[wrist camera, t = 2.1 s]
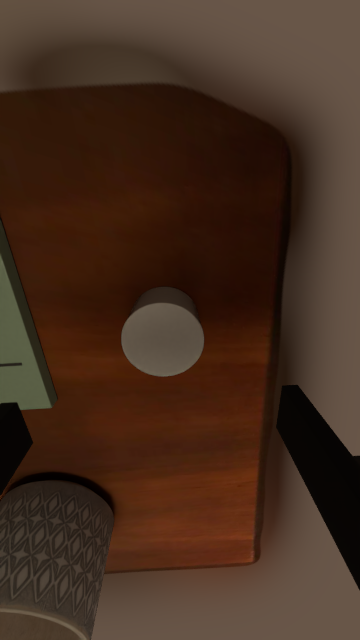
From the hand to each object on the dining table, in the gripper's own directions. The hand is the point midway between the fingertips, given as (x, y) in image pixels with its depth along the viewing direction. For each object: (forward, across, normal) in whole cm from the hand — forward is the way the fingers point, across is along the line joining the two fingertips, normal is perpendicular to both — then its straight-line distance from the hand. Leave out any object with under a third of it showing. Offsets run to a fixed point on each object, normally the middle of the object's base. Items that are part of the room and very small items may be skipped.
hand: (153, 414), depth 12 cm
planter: (+14, -18, -30) cm, 38 cm away
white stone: (+13, 0, 0) cm, 13 cm away
